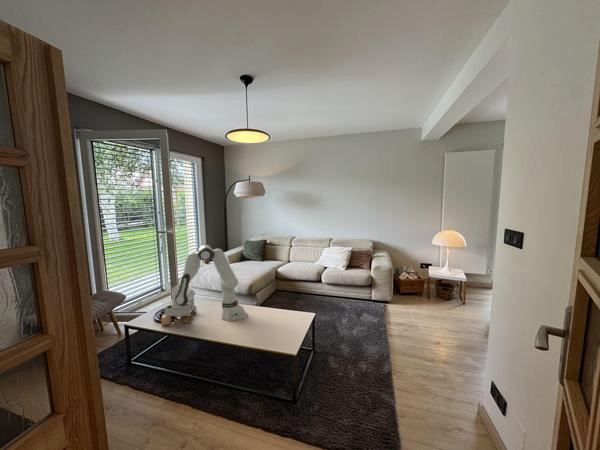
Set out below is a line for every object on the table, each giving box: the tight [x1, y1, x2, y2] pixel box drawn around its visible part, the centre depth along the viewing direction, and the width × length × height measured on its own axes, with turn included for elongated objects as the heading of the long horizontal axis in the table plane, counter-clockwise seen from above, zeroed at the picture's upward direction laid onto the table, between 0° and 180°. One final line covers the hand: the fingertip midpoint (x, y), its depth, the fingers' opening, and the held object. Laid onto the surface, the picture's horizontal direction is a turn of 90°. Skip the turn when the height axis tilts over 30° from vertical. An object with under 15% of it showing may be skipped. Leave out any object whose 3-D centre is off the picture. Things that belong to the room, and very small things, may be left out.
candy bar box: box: [188, 296, 195, 311], centre depth 230 cm, size 11×5×16 cm, turn 84°
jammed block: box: [160, 314, 172, 326], centre depth 209 cm, size 6×6×6 cm
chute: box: [163, 313, 194, 328], centre depth 212 cm, size 21×10×4 cm, turn 104°
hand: (178, 319), depth 212 cm, fingers closed
